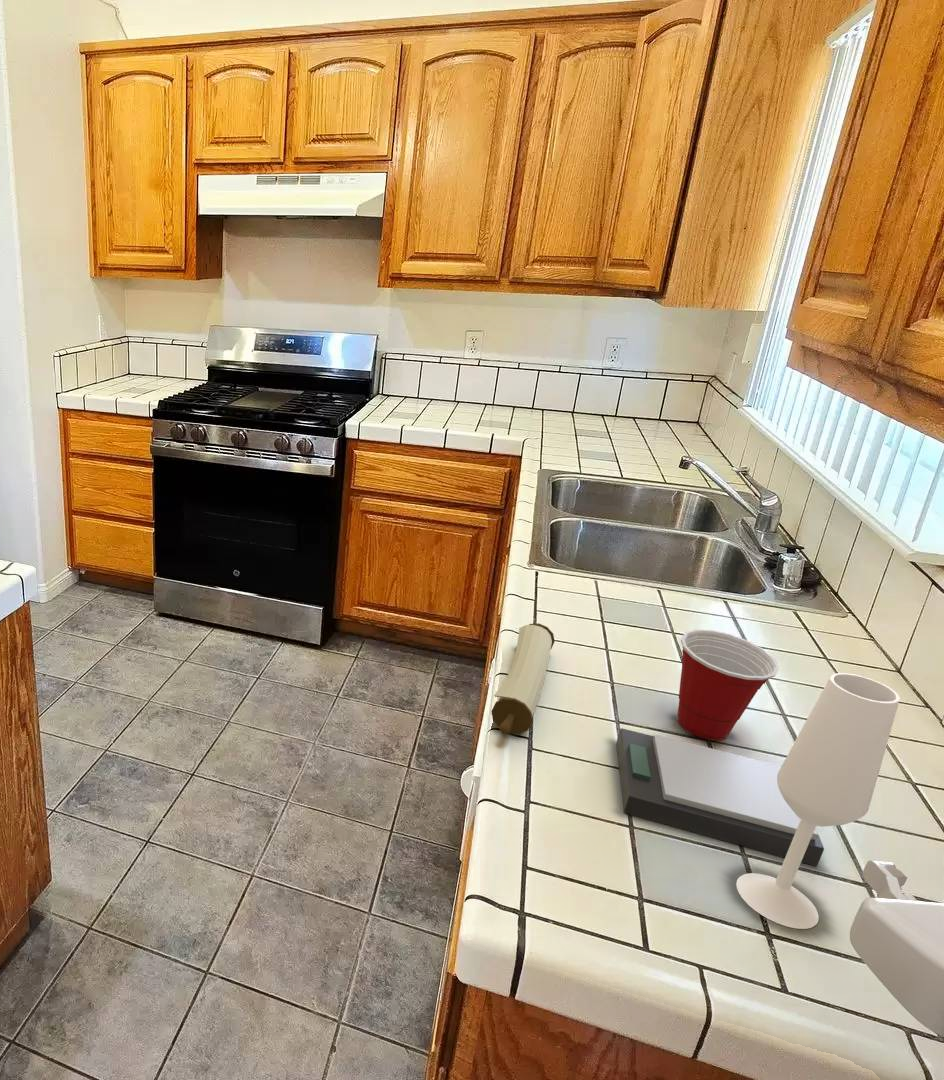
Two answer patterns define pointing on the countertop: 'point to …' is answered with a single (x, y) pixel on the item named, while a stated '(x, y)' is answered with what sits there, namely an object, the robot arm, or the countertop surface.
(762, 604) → the countertop surface
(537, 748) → the countertop surface
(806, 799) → the champagne flute
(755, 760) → the kitchen scale
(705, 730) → the plastic cup
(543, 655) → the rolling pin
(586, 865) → the countertop surface
